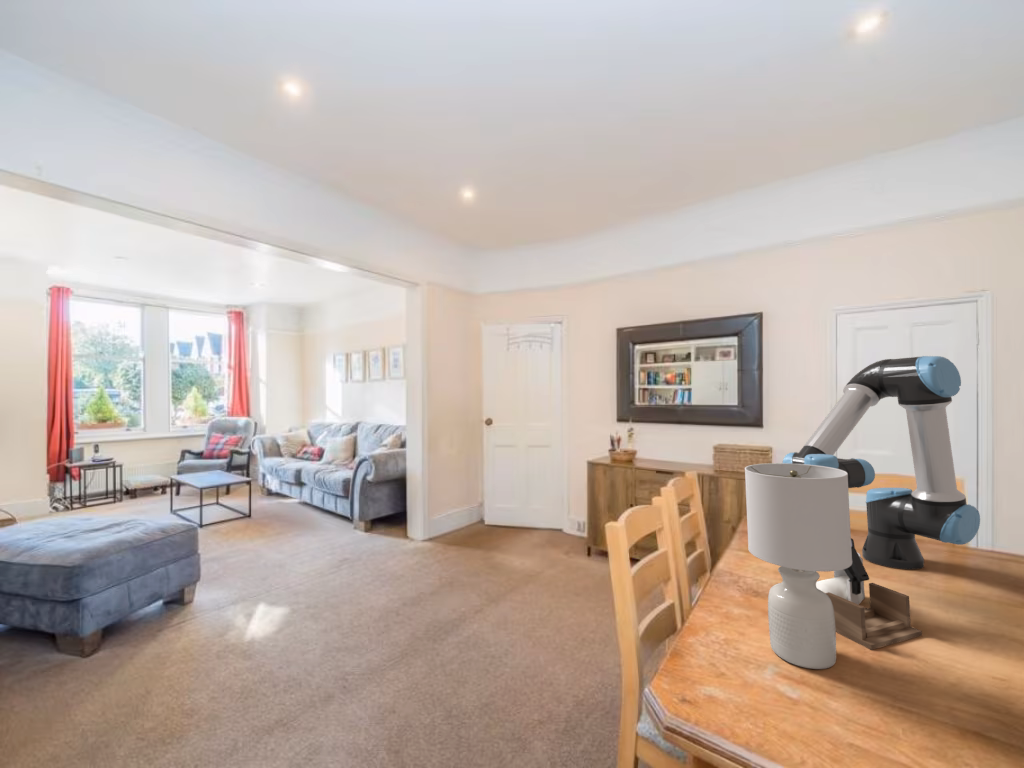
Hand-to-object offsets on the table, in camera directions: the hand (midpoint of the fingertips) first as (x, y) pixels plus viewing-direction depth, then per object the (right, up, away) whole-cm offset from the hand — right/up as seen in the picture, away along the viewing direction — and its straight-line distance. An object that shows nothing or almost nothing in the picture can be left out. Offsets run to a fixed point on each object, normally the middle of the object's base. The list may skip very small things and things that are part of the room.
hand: (826, 594), depth 119 cm
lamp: (-21, -2, -22) cm, 31 cm away
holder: (0, -2, -14) cm, 14 cm away
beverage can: (+8, -2, +2) cm, 8 cm away
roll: (0, -1, 0) cm, 1 cm away
